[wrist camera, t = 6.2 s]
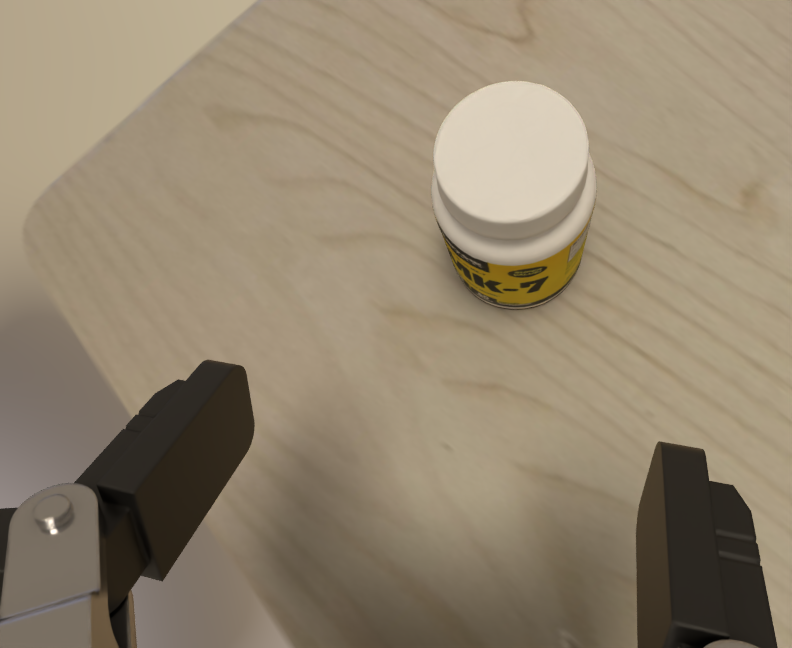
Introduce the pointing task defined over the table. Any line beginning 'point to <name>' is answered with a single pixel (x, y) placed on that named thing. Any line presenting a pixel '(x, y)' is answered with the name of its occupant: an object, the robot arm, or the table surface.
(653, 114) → the table surface
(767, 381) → the table surface
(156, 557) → the robot arm
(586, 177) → the supplement bottle
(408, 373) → the table surface
